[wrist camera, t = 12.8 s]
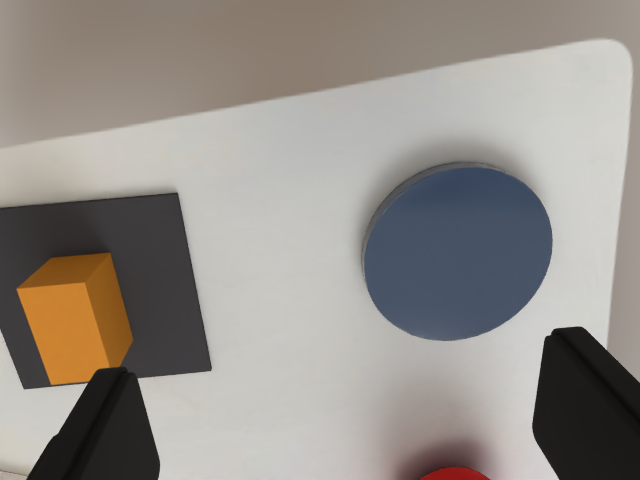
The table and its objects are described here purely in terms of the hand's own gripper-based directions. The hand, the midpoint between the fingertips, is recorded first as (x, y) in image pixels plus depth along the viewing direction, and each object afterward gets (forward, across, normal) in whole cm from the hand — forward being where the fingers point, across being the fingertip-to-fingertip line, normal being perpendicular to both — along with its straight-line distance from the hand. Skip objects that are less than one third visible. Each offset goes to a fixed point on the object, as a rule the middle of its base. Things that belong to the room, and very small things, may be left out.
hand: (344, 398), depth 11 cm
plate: (+26, -11, +9) cm, 29 cm away
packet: (+25, +18, +10) cm, 33 cm away
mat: (+26, +18, +10) cm, 33 cm away
